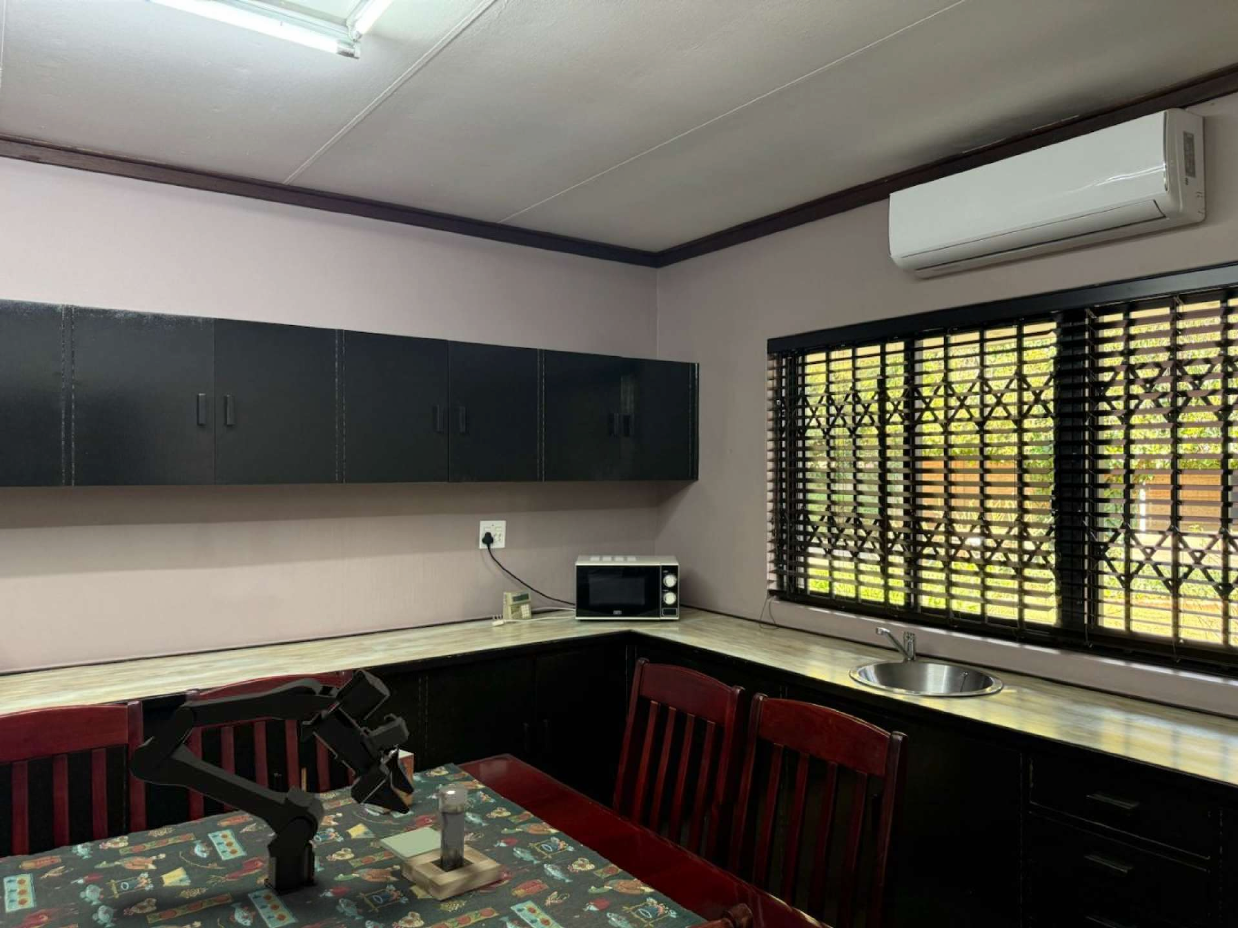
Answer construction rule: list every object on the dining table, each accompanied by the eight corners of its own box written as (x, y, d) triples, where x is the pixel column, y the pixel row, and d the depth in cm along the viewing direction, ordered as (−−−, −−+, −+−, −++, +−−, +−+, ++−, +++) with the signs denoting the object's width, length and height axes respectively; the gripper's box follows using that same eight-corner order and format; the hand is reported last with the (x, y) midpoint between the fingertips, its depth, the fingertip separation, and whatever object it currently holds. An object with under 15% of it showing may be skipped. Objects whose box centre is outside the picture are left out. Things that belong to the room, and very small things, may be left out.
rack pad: (406, 862, 159) (406, 857, 159) (379, 844, 166) (380, 839, 166) (455, 848, 166) (455, 842, 166) (427, 831, 173) (427, 826, 173)
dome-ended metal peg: (446, 886, 150) (449, 796, 151) (431, 876, 154) (434, 788, 154) (471, 878, 154) (473, 790, 154) (455, 868, 157) (458, 782, 157)
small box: (382, 814, 182) (383, 762, 182) (365, 807, 185) (366, 756, 185) (413, 803, 188) (414, 753, 188) (396, 797, 191) (397, 747, 192)
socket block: (439, 900, 145) (439, 884, 145) (402, 875, 154) (403, 860, 154) (500, 879, 153) (500, 864, 153) (462, 856, 162) (462, 842, 162)
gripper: (373, 718, 143) (442, 786, 145) (386, 691, 162) (447, 751, 163) (321, 769, 142) (391, 836, 143) (340, 735, 160) (402, 795, 162)
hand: (410, 801), depth 153 cm, fingers open, 9 cm apart
